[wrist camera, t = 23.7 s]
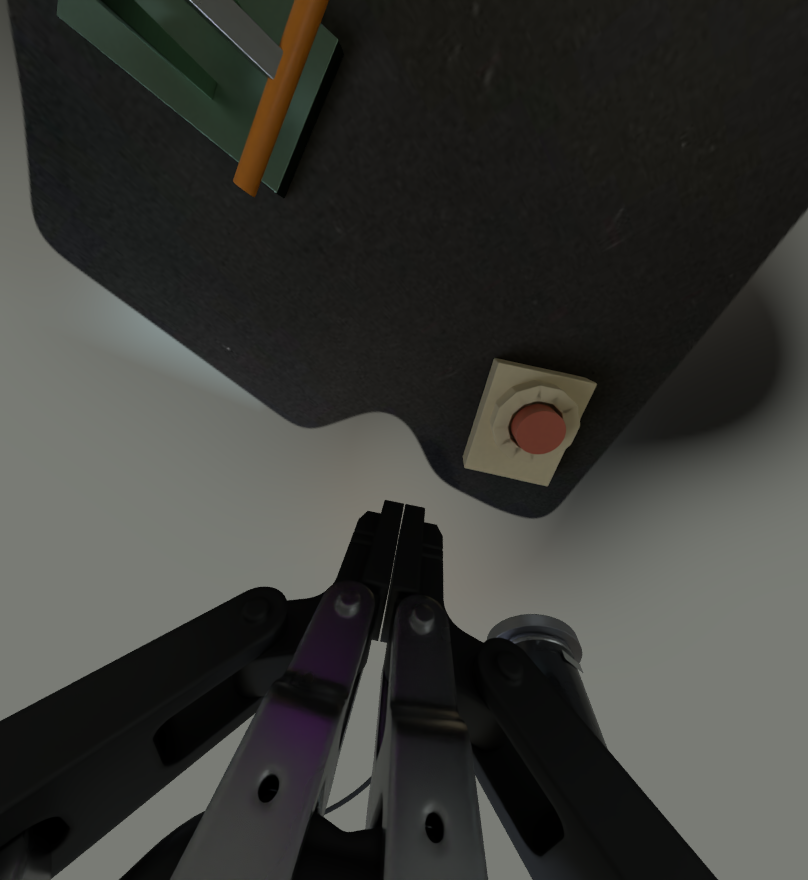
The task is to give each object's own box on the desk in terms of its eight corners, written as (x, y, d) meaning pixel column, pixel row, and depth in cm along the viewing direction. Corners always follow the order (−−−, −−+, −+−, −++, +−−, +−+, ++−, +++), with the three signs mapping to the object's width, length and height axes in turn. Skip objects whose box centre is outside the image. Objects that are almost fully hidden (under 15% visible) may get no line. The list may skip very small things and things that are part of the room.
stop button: (547, 449, 25) (554, 459, 23) (505, 439, 25) (509, 449, 23) (565, 409, 23) (574, 416, 22) (520, 399, 23) (526, 406, 22)
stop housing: (540, 474, 30) (554, 498, 26) (462, 457, 30) (465, 478, 26) (585, 377, 26) (609, 389, 22) (494, 357, 26) (502, 366, 22)
